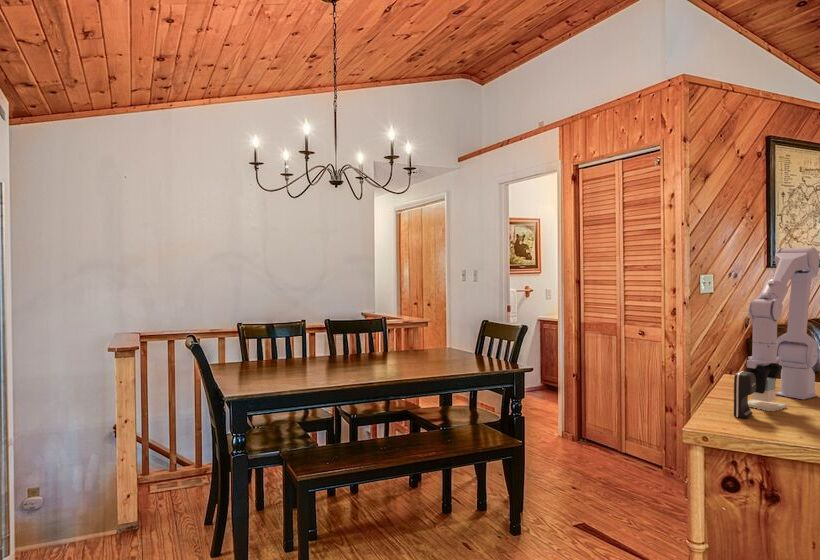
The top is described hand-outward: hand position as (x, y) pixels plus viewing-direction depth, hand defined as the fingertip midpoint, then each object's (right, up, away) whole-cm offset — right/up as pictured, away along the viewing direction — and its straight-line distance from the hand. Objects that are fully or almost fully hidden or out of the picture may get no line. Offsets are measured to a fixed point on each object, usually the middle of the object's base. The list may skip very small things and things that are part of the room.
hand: (763, 391), depth 159 cm
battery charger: (-11, -5, -10) cm, 15 cm away
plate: (0, -4, 0) cm, 4 cm away
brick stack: (0, -2, 0) cm, 2 cm away
